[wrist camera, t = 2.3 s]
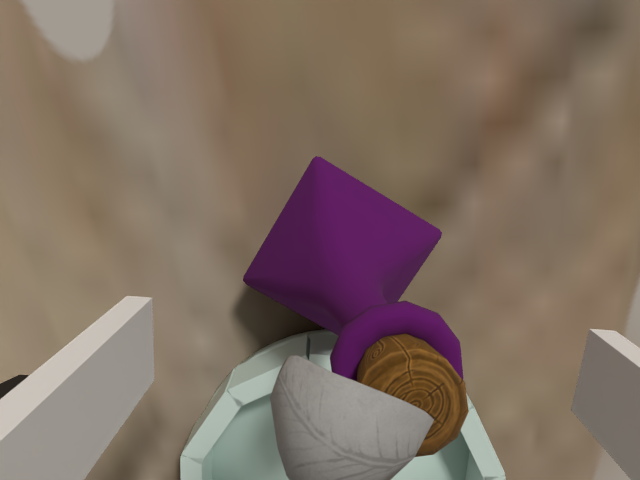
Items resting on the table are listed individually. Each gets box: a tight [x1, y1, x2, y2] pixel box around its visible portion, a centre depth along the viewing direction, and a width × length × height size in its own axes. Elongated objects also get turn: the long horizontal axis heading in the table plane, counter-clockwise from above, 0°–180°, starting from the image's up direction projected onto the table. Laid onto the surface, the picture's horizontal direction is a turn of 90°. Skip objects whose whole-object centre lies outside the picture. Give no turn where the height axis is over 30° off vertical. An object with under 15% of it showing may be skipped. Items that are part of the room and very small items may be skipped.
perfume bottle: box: [243, 156, 469, 480], centre depth 17 cm, size 8×8×18 cm
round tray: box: [180, 329, 506, 480], centre depth 27 cm, size 18×18×4 cm
